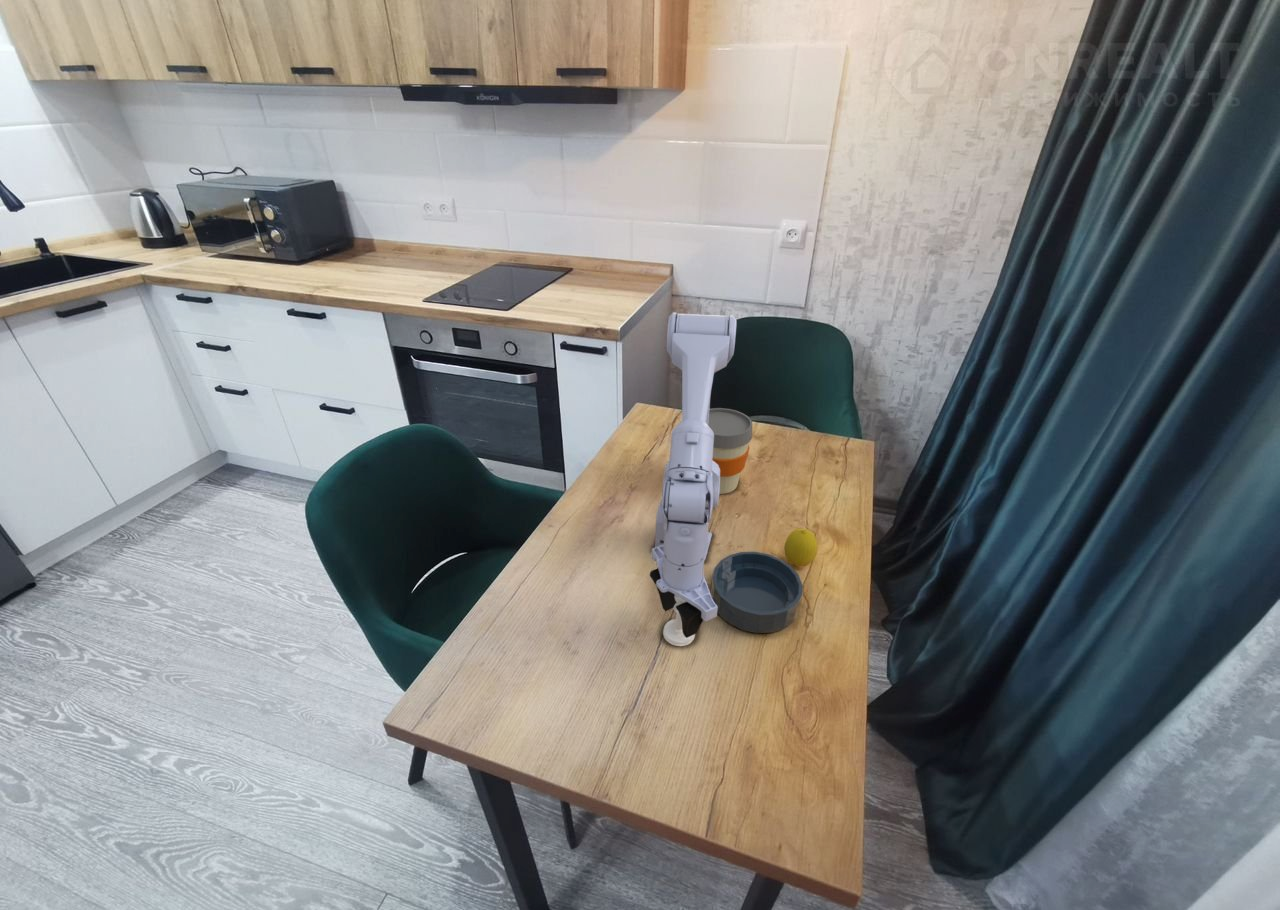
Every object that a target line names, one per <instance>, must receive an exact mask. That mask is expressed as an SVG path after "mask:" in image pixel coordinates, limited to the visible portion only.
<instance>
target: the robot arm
mask: <svg viewBox="0 0 1280 910" xmlns="http://www.w3.org/2000/svg"><path fill="white" fill-rule="evenodd" d="M736 336H737V319H736V318H735V316H734V315H733V314H730V315H729V316H728V315H713V314H696V313H694V314H693V313H691V314H690V313H677V312H675V311H673V312H672V313H671V314H670V315H669V316H668V322H667V332H666V352H667V353H668V355H669V357H670V360H671V363H672V364H673V366H675V367H677V368H678V369H679V370H681V373H682V374H681V376H682V378H681V379H682V381H681V388H682V390H681V408H682V409H681V421H680V422H679V423H678V424H676V426H675V427H674V428H673V429H672V431H671V439H670V441H671V442H670V450H669V460H668V461H667V463H666V464H665V466H664V473H663V480H662V490H661V491H662V492H661V499H660V501H659V504H658V507H657V511H656V517H655V538H654V539H655V541H654V547H653V548H651V554H650V555H651V559H652V562H655V563H656V566H657V567H656V568H655V569H652V570H651V571H650V572H649V577H650V578H651V580H652V581H653V583H654V585H655V587H656V589H657V590H656V591H657V593H658V595H659V600H660V603H661V607H662V609H663V610H664V612H667V611H670V610H673V607H674V605H675V604H676V600H675V597H674V596H675V595H677V596H678V597H680V598H682V599H683V600H685V601H686V602H685V603H682V604H680V605H678V606H676V609H677V610H678V612H679V614H680V616H681V620H682V631H683V634H684V636H685V637H686V638H688V637H690V636H692V635H694V634H695V635H696V634H698V632H699V629H700V627H701V625H702V624H703V622H708V621H710V620H712V619H714V618H717V617H718V612H717V610H718V606H717V605H716V601H715V600H714V599H713V598H712V597H711V590H710V588H709V586H708V583H707V581H706V578H705V575H704V566H705V562H706V558H707V555H708V551H709V548H710V544H711V540H712V537H713V533H712V532H711V531H709V525H710V523H711V519H712V516H713V510H716V509H717V508H718V507H719V503H720V502H719V501H720V494H719V492H720V468H719V465H718V464H717V463H715V462H714V461H713V460H712V458H713V444H714V433H713V431H712V430H711V428H710V427H709V426H708V421H709V409H711V395H712V387H713V383H714V377H715V376H714V375H715V373H717V372H718V371H720V370H722V369H724V368H726V367H727V366H728V364H729V362H730V361H731V360H732V358H733V356H734V353H735V345H736Z"/></svg>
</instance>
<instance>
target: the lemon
mask: <svg viewBox="0 0 1280 910" xmlns="http://www.w3.org/2000/svg"><path fill="white" fill-rule="evenodd" d="M783 548H784V549H783V550H784V555H785V557H786V559H787V561H788V562H789V563H790V564H792V565H793V566H796V567H800V568H801V567H806V566H809V565H810V564H812V563H813V562H814V561H815V560H816V559H815V558H816V556H817V554H818V540H817V537H816V535H815V534H814V533H813V532H812V531H810V530H809V529H807V528H797V529H793V530H792V531H791V532H790V533H789V534H788V536H787V537H786V540H785V542H784V547H783Z"/></svg>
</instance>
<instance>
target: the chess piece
mask: <svg viewBox="0 0 1280 910" xmlns="http://www.w3.org/2000/svg"><path fill="white" fill-rule="evenodd" d="M674 597H675V600H676V604H675V605H674V607H673V608H672V610H673V611H674V612H675V613H676V614H675V618H673V619H670V620H668V621H667V622H666V623H665V624H664V626H663V630H662V635H663V638H664V640H665V641H666V642H667V643H668V644H670V645H672V646H675V647H684V646H685V647H686V646H688V645H690V644H691V643H692V642H693V641H694V639H695V637H696V634H694V635H692V636H690V637H688V638H686V637H685V636H684V634H683V631H682V620H681V616H680V614H679V612H678V610H677V609H676V606H678V605H680V604H682V603H685V602H686V601H685V600H683V599H682V598H680V597H678V596H677V595H675V596H674Z"/></svg>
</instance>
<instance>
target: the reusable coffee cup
mask: <svg viewBox="0 0 1280 910" xmlns="http://www.w3.org/2000/svg"><path fill="white" fill-rule="evenodd" d="M708 426H709V427H710V428H711V430H712V431H713V433H714V444H713V458H712V460H713V461H714V462H715V463H717V464H718V465H719V468H720V492H719V495H724V494H728V493H731V492H733V491H735V489H737V488H738V484H739V480H740V477H741V473H742V471H744V469H745V467H746V462H747V459H748V456H749V452H750V442H751V441H752V439H753V421H752V419H751V418H750V417H749V416H748V415H746V414H745V413H744V412H741V411H739V410H736V409H732V408H725V407H724V408H722V407H714V408H710V409H709V421H708Z"/></svg>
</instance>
